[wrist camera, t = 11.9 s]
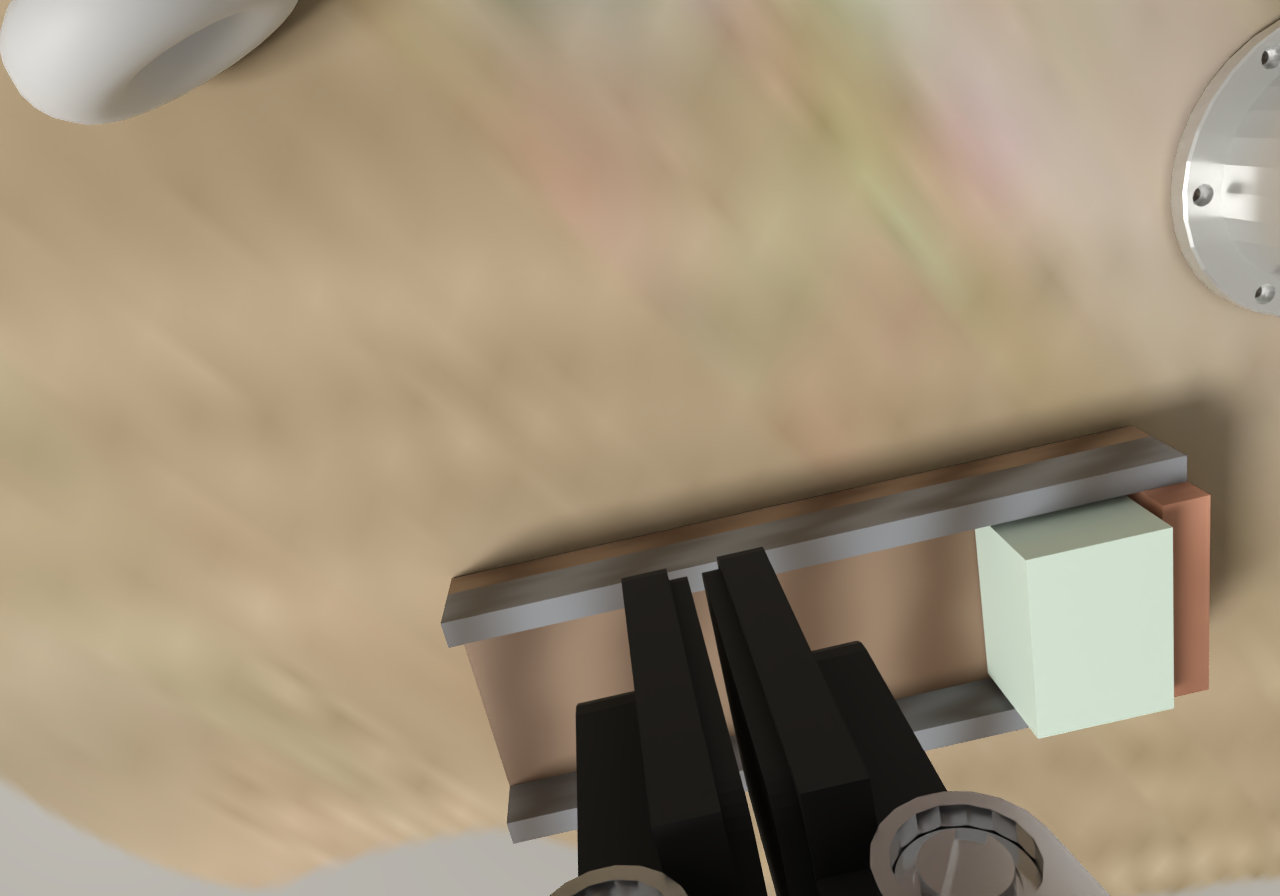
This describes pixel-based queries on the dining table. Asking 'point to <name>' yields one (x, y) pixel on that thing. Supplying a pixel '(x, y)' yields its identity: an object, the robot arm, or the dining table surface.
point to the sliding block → (1080, 614)
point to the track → (815, 600)
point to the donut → (126, 50)
